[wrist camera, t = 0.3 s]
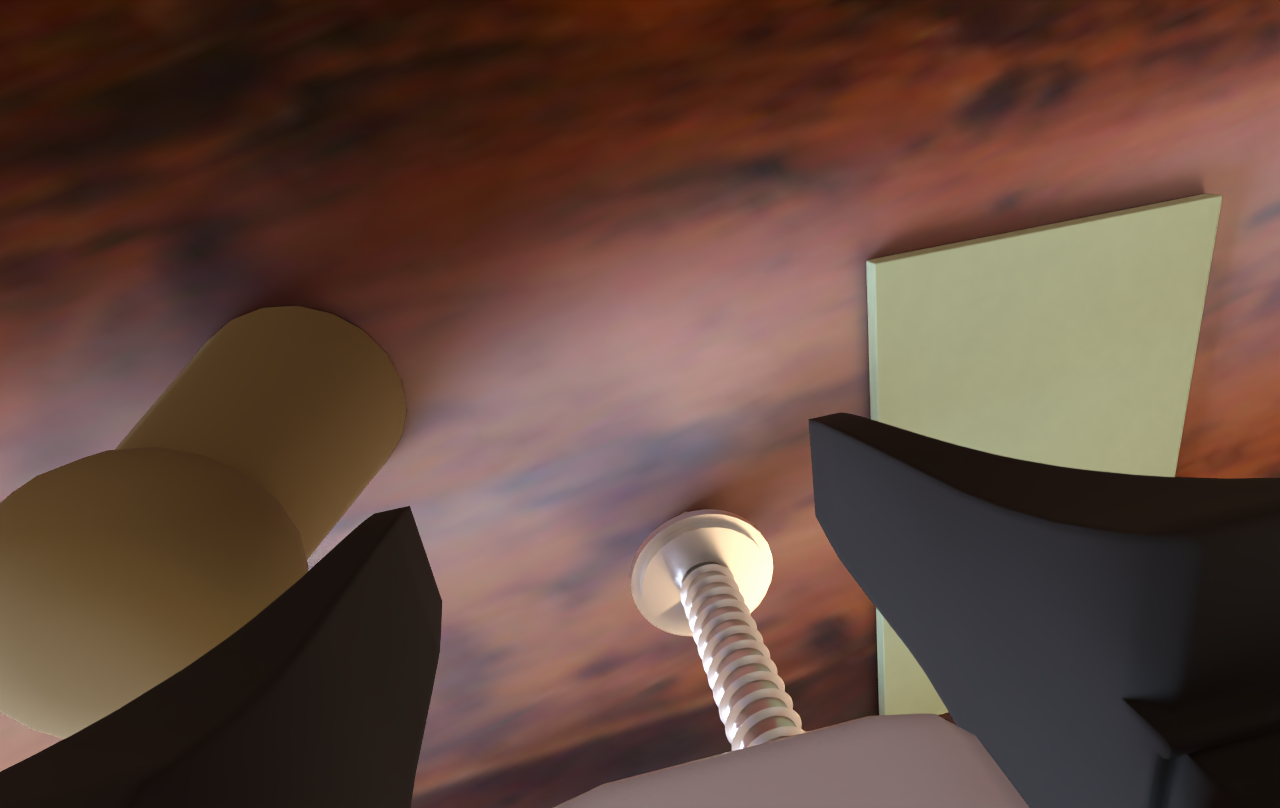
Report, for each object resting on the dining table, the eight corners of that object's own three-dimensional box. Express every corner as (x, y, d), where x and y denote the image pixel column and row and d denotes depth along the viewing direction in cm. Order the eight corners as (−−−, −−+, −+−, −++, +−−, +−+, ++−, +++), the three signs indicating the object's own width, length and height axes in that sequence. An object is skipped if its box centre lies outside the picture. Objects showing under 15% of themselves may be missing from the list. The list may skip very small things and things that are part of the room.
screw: (747, 471, 24) (758, 582, 26) (612, 499, 23) (633, 610, 25) (971, 808, 12) (961, 970, 14) (703, 879, 11) (730, 1036, 13)
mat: (1132, 653, 30) (1143, 662, 30) (878, 717, 29) (885, 729, 29) (1206, 193, 23) (1223, 194, 22) (865, 259, 22) (874, 263, 21)
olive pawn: (321, 266, 19) (94, 413, 9) (446, 431, 22) (376, 693, 11) (143, 372, 20) (-267, 629, 9) (285, 524, 22) (81, 857, 12)
